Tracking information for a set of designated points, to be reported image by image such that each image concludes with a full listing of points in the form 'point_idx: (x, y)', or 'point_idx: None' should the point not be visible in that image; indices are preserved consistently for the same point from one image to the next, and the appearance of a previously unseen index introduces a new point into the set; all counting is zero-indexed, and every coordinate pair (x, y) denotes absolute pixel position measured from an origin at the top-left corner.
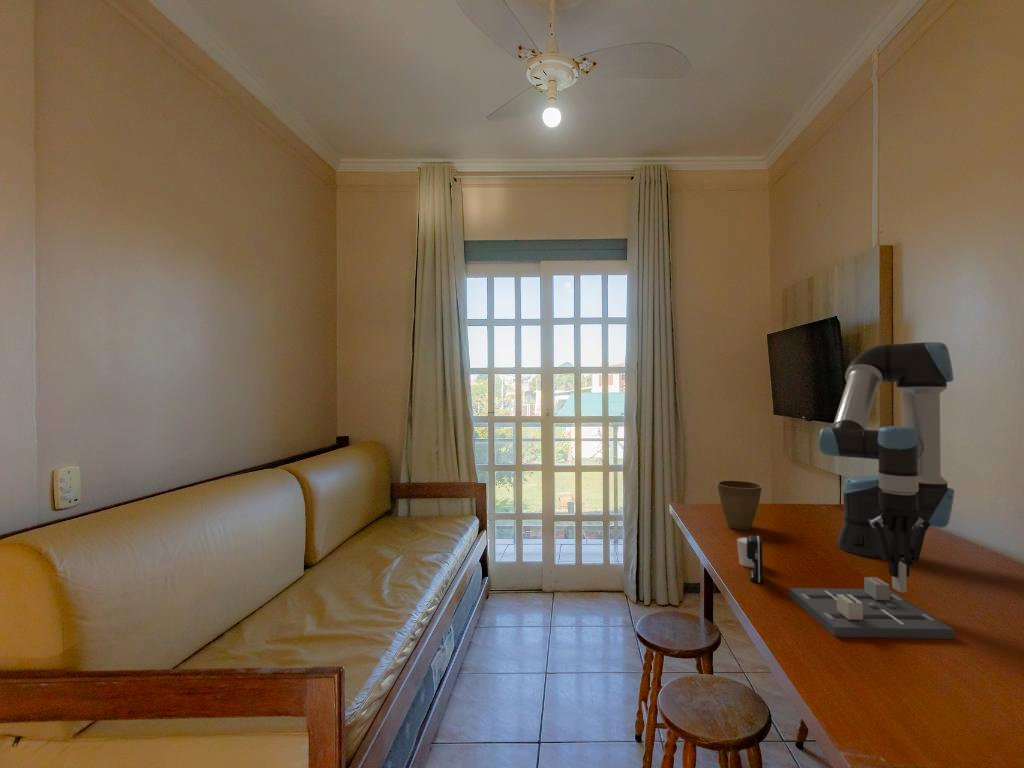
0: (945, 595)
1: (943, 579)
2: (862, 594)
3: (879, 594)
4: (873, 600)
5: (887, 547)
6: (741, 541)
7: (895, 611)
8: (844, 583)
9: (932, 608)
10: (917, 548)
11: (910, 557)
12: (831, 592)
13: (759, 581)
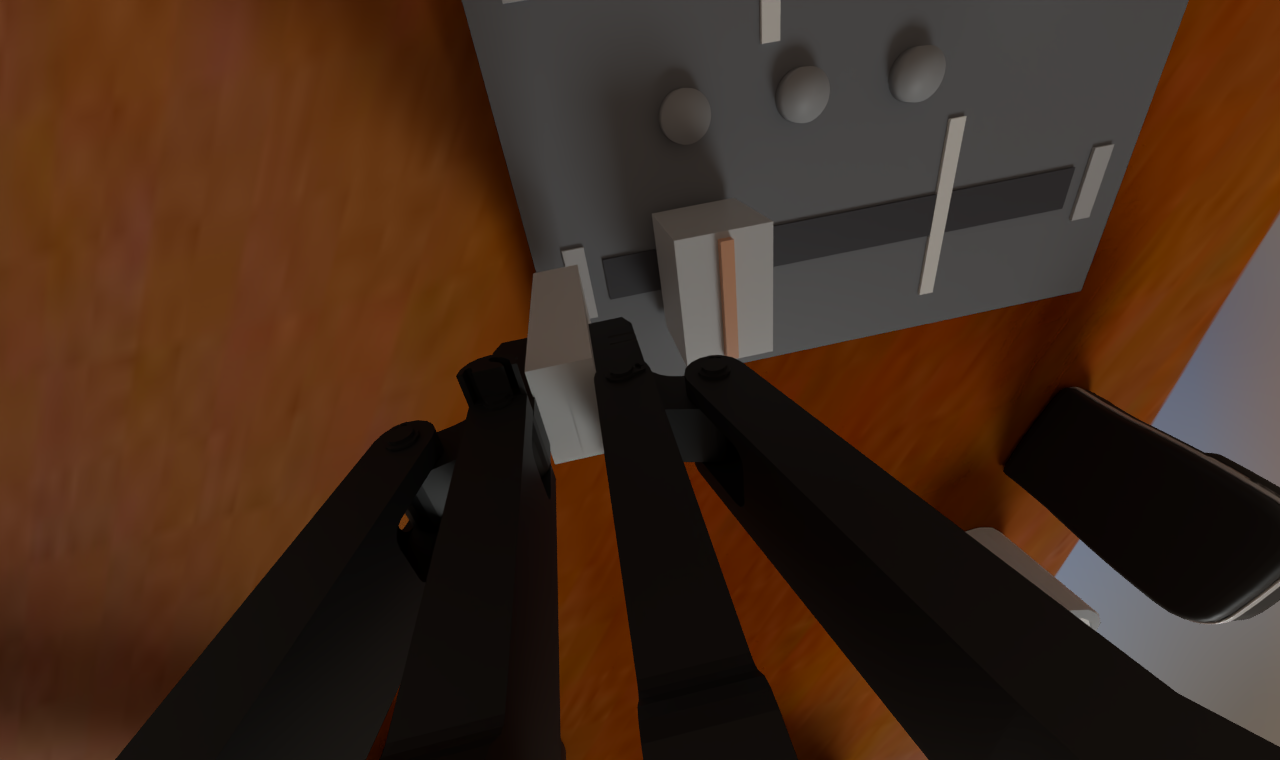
0: (273, 466)
1: None
2: None
3: (722, 211)
4: None
5: (785, 456)
6: (1093, 626)
7: (689, 34)
8: (702, 476)
9: (387, 283)
10: (336, 550)
11: (466, 436)
12: (903, 281)
13: (1080, 388)
